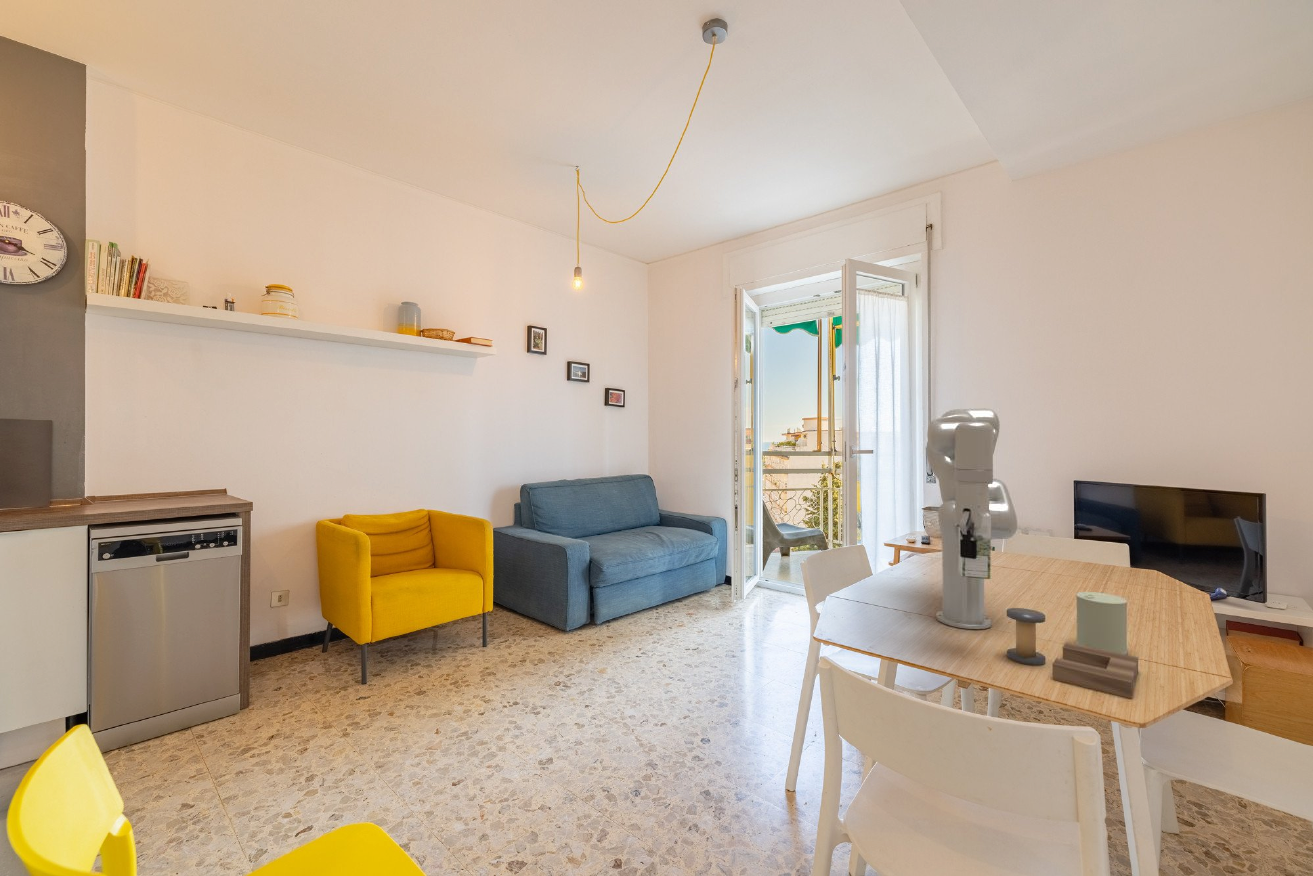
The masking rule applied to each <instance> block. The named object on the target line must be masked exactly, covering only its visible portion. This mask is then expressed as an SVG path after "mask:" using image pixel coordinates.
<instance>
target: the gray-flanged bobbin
mask: <svg viewBox="0 0 1313 876" xmlns="http://www.w3.org/2000/svg"><path fill="white" fill-rule="evenodd" d="M1006 617H1007V618H1009V619H1011V620H1015V647H1014V648H1013V647H1012V648H1008V649H1007V650H1006V657H1007V658H1008V660H1011V661H1013V662H1015V663H1017V664H1018V663H1019V664H1022V665H1026V666H1035V667H1036V666H1038V667H1039V666H1044V665H1045V664H1046V662H1047V661H1046V656H1045V655H1044V654H1043V653H1041V652H1037V647H1036V646H1037V642H1036V641H1037V638H1036V637H1037V636H1036V635H1037V634H1036V632H1037V626H1036V625H1037V624H1040V623H1041V624H1043V623H1045V622H1046V614H1045V613H1042V612H1041V611H1037V610H1035V609H1029V608H1023V607H1022V608H1021V607H1010V608H1007V609H1006Z"/></svg>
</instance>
